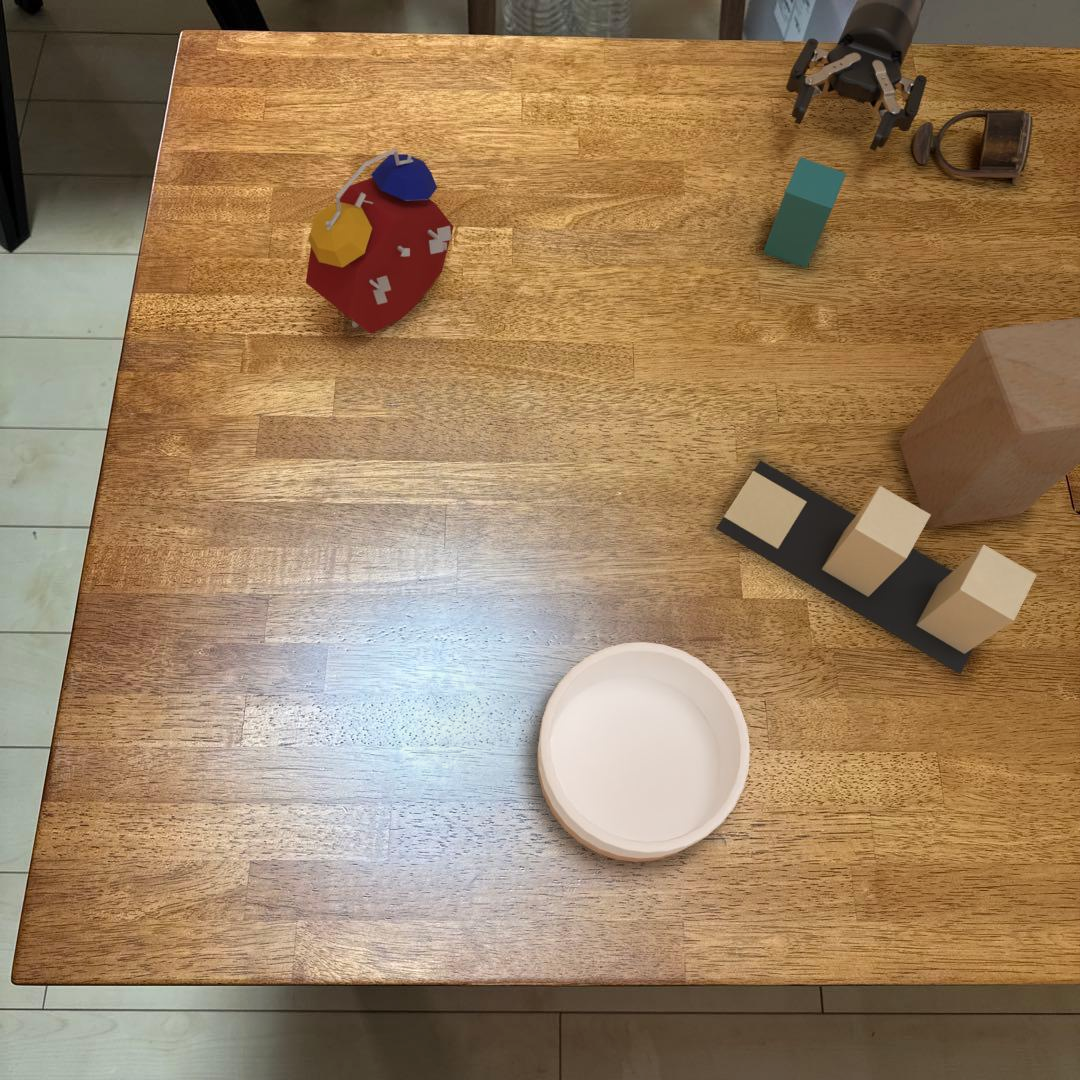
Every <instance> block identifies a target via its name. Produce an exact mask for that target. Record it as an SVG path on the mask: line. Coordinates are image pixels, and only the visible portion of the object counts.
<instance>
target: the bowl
mask: <svg viewBox="0 0 1080 1080" xmlns="http://www.w3.org/2000/svg"><path fill="white" fill-rule="evenodd" d="M540 723H541V724H540V730H539V737H538V745H537V754H536V755H537V756H536V760H537V761H536V762H537V776H538V780H539V784H540V787H541V792H542V795H543V798H544V800H545V802H546V803H547V806H548V807H549V809H550V812H551V815H553V816H554V818H555V819H556V820H557V823H559V825H560V826H561V827H562V828H563V830H565V832H566V833H568V834H569V835H570V836H571V837H572V838H573V839H575V840H576V842H578V843H579V844H581V845H582V846H584V847H586V848H587V849H589V850H591V851H593V852H595V853H596V854H598V855H602V856H605V857H608V858H611V859H613V860H617V861H618V860H619V861H626V862H633V863H637V862H652V861H657V860H661V859H664V858H668V857H672V856H674V855H675V854H677V853H681V852H682V851H684V850H685V849H687V848H689V847H691V846H693V845H695V844H696V843H698V842H700V841H701V840H703V839H705V838H706V837H707V836H709V835H710V834H711V833H712V832H714V831H715V830H716V829H717V828H718V827H719V826H721V825H722V824H723V823H724V822H725V820H726V819H727V818H728V817H729V815H730V814H731V812H732V811H733V810H734V809H735V807H736V806H737V803H738V801H739V799H740V797H741V795H742V793H743V791H744V789H745V786H746V782H747V779H748V774H749V770H750V755H751V745H750V737H749V731H748V726H747V722H746V720H745V717H744V714H743V711H742V708H741V706H740V704H739V702H738V701H737V699H736V697H735V695H734V694H733V692H732V690H731V689H730V687H729V686H728V685H727V684H726V683H725V682H724V680H723V679H722V678H721V677H720V675H718V674H717V672H715V671H714V670H713V669H712V668H711V667H709V666H708V665H707V664H706V663H705V662H703V661H702V660H701V659H698V658H697V657H695V656H693V655H691V654H689V653H688V652H686V651H684V650H682V649H678V648H675V647H673V646H669V645H667V644H662V643H661V644H660V643H655V642H647V641H637V642H622V643H620V644H614V645H611V646H607V647H604V648H601V649H600V650H598V651H595V652H593V653H591V654H589V655H587V656H586V657H585V658H583V659H581V660H580V661H579V662H578V663H576V664H575V665H573V666H572V667H571V668H570V669H569V670H568V672H567V673H566V674H565V675H564V676H563V677H562V678H561V680H560V681H558V683H557V685H556V686H555V688H554V690H553V692H552V693H551V695H550V697H549V698H548V701H547V703H546V706H545V708H544V712H543V715H542V718H541V722H540Z"/></svg>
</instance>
